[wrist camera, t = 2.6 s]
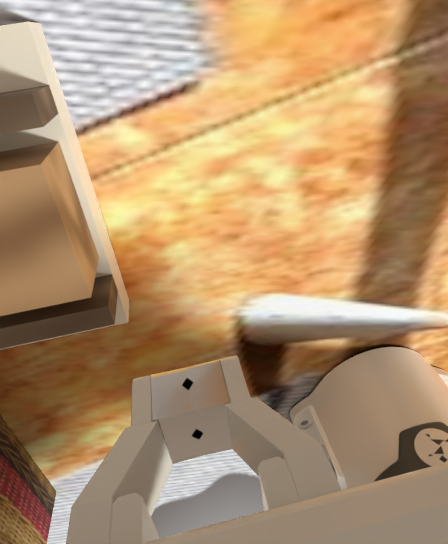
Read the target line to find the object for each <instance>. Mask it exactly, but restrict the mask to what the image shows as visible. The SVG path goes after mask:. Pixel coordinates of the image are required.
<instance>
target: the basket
mask: <svg viewBox="0 0 448 544" xmlns="http://www.w3.org/2000/svg"><path fill="white" fill-rule="evenodd" d="M55 496H56V491H55V489H54V488H53V486H52V485H51V484H50V482H49V481H48V480H47V478H46V477H45V475H44V474H43V473H42V471H41V470H40V469H39V467H38V466H37V465H36V463H35V462H34V460H33V459H32V458H31V456H30V455H29V454H28V452H27V451H26V450H25V448H24V447H23V445H22V444H21V443H20V441H19V440H18V439H17V437H16V436H15V435H14V433H13V432H12V430H11V429H10V428H9V426H8V425H7V424H6V422H5V421H4V420H3V418H2V417H1V415H0V544H47V538H48V533H49V528H50V523H51V517H52V512H53V507H54V502H55Z"/></svg>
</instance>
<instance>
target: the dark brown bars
mask: <svg viewBox="0 0 448 544" xmlns="http://www.w3.org/2000/svg"><path fill="white" fill-rule="evenodd" d="M57 114H59V113H58V110H57V107H56V104H55V101H54V98H53V95H52V92H51V89H50V86H49V85H46V86H40V87H34V88H28V89H22V90H16V91H10V92H4V93H0V134H5V133H11V132H17V131H23V130H29V129H34V128H40V127H44V126H45V125H46V124H48V123H49V122H50V121H51V120H52V119H53V118H54V117H55V116H56V115H57ZM117 296H118V290H117V287H116V284H115V281H114V278H113V275H112V274H111V275H106V276H101V277H96V278H95V281H94V286H93V291H92V296H91V298H86V299H81V300H76V301H72V302H67V303H62V304H57V305H52V306H47V307H43V308H38V309H33V310H28V311H23V312H18V313H14V314H9V315H4V316H0V349H2V348H7V347H11V346H16V345H21V344H25V343H30V342H35V341H39V340H44V339H49V338H53V337H58V336H63V335H67V334H72V333H77V332H81V331H86V330H91V329H95V328H100V327H105V326H109V325H114V324H115V316H116V306H117Z"/></svg>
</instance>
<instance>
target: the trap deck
mask: <svg viewBox="0 0 448 544" xmlns="http://www.w3.org/2000/svg"><path fill="white" fill-rule="evenodd" d="M46 85H49V86H50V89H51V92H52V95H53V98H54V101H55V104H56V107H57V110H58V113H59V114H57V115H56V116H55V117H54V118H53V119H52V120H51V121H50V122H49V123H48V124H46V125H45V126H44V127H40V128H34V129H29V130H23V131H17V132H11V133H5V134H0V152H2V151H8V150H13V149H19V148H25V147H31V146H36V145H42V144H48V143H53V142H59V143H60V146H61V149H62V152H63V155H64V158H65V160H66V163H67V166H68V169H69V172H70V175H71V178H72V181H73V184H74V186H75V189H76V192H77V195H78V198H79V201H80V204H81V207H82V210H83V212H84V215H85V218H86V221H87V224H88V227H89V230H90V233H91V236H92V239H93V241H94V244H95V247H96V250H97V253H98V256H99V261H98V266H97V271H96V276H95V278H96V277H101V276H106V275H111V274H112V275H113V278H114V281H115V284H116V287H117V290H118V296H117V306H116V316H115V324H114V325H109V326H105V327H100V328H95V329H91V330H86V331H81V332H77V333H72V334H67V335H63V336H58V337H53V338H49V339H54V338H59V337H64V336H68V335H73V334H78V333H82V332H87V331H92V330H96V329H101V328H106V327H110V326H115V325H120V324H124V323H128V322H129V302H130V301H129V298H128V294H127V291H126V288H125V285H124V282H123V279H122V276H121V273H120V270H119V266H118V263H117V260H116V257H115V254H114V251H113V248H112V245H111V241H110V238H109V235H108V232H107V229H106V226H105V223H104V220H103V216H102V213H101V210H100V207H99V204H98V201H97V198H96V195H95V191H94V188H93V185H92V182H91V179H90V176H89V173H88V170H87V166H86V163H85V160H84V157H83V154H82V151H81V148H80V145H79V142H78V138H77V135H76V132H75V129H74V126H73V123H72V120H71V117H70V113H69V110H68V107H67V104H66V101H65V98H64V95H63V92H62V88H61V85H60V82H59V79H58V76H57V73H56V70H55V67H54V63H53V60H52V57H51V54H50V51H49V48H48V45H47V42H46V38H45V35H44V32H43V29H42V26H41V23H35V22H22V23H15V24H8V25H2V26H0V93H4V92H10V91H16V90H22V89H28V88H34V87H40V86H46ZM49 339H44V340H39V341H35V342H40V341H45V340H49ZM35 342H30V343H25V344H21V345H26V344H31V343H35ZM21 345H16V346H11V347H7V348H12V347H17V346H21ZM7 348H2V349H0V350H3V349H7Z"/></svg>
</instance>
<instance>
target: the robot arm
mask: <svg viewBox="0 0 448 544" xmlns="http://www.w3.org/2000/svg"><path fill="white" fill-rule="evenodd" d="M290 417H291V420H292V423H293V424H292V423H291V422H289V421H288V420H287V419H285V418H284V417H283V416H281V415H280V414H278V413H277V412H276V411H274V410H273V409H272V408H270V407H269V406H267V405H266V404H265V403H263V402H262V401H261V400H259V399H258V398H257V397H253V398H250V394H249V391H248V388H247V385H246V381H245V378H244V375H243V372H242V368H241V365H240V362H239V359H238V357H237V355H234V356H230V357H226V358H222V359H220V360H219V359H218V360H214V361H210V362H206V363H201V364H197V365H193V366H189V367H185V368H181V369H176V370H171V371H166V372H161V373H156V374H152V375H148V376H143V377H138V378H134V379H133V382H132V406H131V427H128V428H125V430H124V431H123V433H122V434H121V436H120V437H119V439H118V440H117V441H116V443H115V444H114V446H113V447H112V449H111V450H110V452H109V453H108V455H107V456H106V458H105V459H104V460H103V462H102V463H101V465H100V466H99V468H98V469H97V471H96V472H95V474H94V475H93V477H92V478H91V479H90V481H89V482H88V484H87V485H86V487H85V488H84V490H83V491H82V493H81V494H80V496H79V497H78V498H77V500H76V501H75V503H74V504H73V506H72V508H71V514H70V521H69V528H68V534H67V541H66V544H448V373H447V372H446V371H445V370H442V369H439V368H436V367H432V366H431V365H430V364H429V363H428V362H427V361H426V360H425V359H424V357H423V356H421V355H420V354H419V353H417V352H415V351H413V350H410V349H407V348H402V347H384V348H378V349H373V350H369V351H366V352H363V353H361V354H358V355H356V356H354V357H352V358H350V359H348V360H346V361H344V362H343V363H341V364H340V365H338V366H337V367H335V368H334V369H333V370H332V371H331V372H329V373H328V374H327V375H326V376H325V377H324V378H323V379H322V381H321V382H320V383H319V384H318V386H317V387H316V388H315V390H314V391H313V392H312V393H311V394H310V395H309V396H308V397H306V398H305V399H303V400H302V401H301V402H299V403H298V404H297V405H295V406H294V407H293V408H292V409H291V411H290ZM229 449H234V451H235V452H236V453H237V454H238V455H239V456H240V457H241V458H242V459H243V460H244V461H245V462H246V463H247V464H248V465H249V466H250V467H251V469H252V470H253V471H254V472H255V473H256V474H257V475H258V476H259V478H260V485H261V491H262V499H263V505H264V511H262V512H258V513H255V514H251V515H247V516H243V517H239V518H236V519H232V520H228V521H224V522H221V523H217V524H214V525H209V526H206V527H202V528H198V529H194V530H190V531H187V532H183V533H179V534H176V535H172V536H168V537H164V538H160V537H159V535H158V533H157V530H156V528H155V526H154V523H153V521H152V519H151V515H152V513H153V511H154V508H155V506H156V504H157V502H158V499H159V497H160V495H161V492H162V490H163V488H164V486H165V483H166V481H167V479H168V476H169V474H170V472H171V469H172V467H173V464H174V463H177V462H181V461H184V460H188V459H192V458H195V457H199V456H202V455H207V454H211V453H216V452H220V451H225V450H229Z"/></svg>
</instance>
